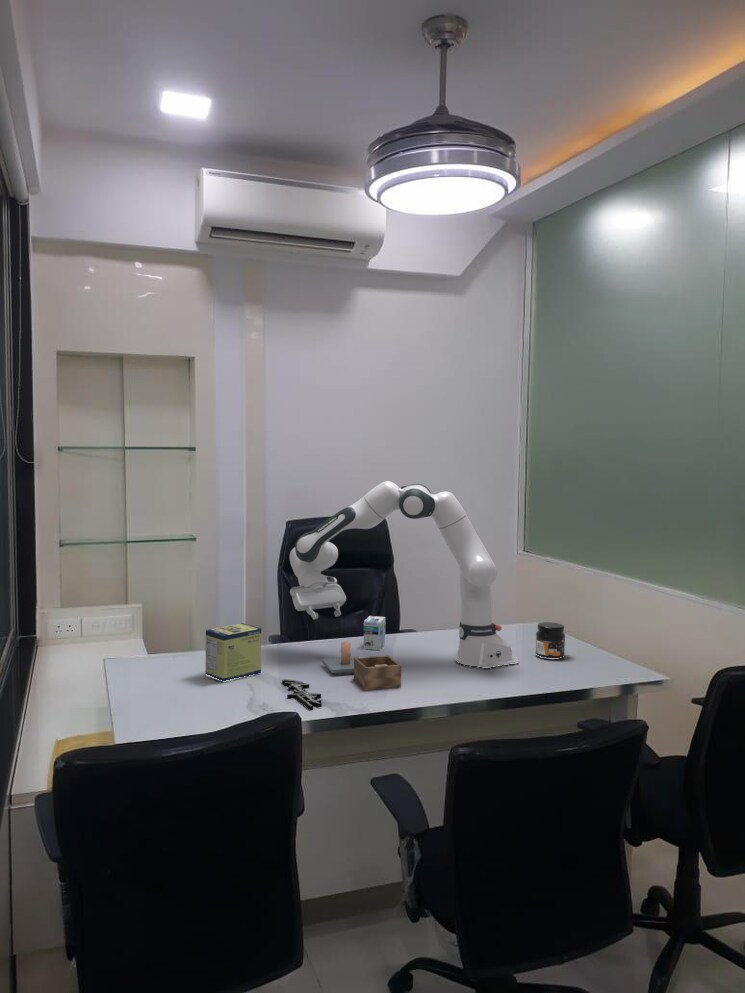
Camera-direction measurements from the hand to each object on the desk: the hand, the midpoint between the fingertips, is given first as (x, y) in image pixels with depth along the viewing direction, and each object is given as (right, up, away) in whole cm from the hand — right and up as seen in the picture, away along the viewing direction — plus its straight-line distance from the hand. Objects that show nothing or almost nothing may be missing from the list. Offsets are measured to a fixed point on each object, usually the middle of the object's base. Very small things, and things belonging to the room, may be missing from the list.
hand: (327, 616), depth 266 cm
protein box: (-30, -17, -16) cm, 38 cm away
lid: (+7, -17, -8) cm, 20 cm away
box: (+17, -18, -22) cm, 33 cm away
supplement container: (+81, -17, +13) cm, 84 cm away
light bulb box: (+17, -15, +24) cm, 33 cm away
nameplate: (-6, -19, -36) cm, 41 cm away
